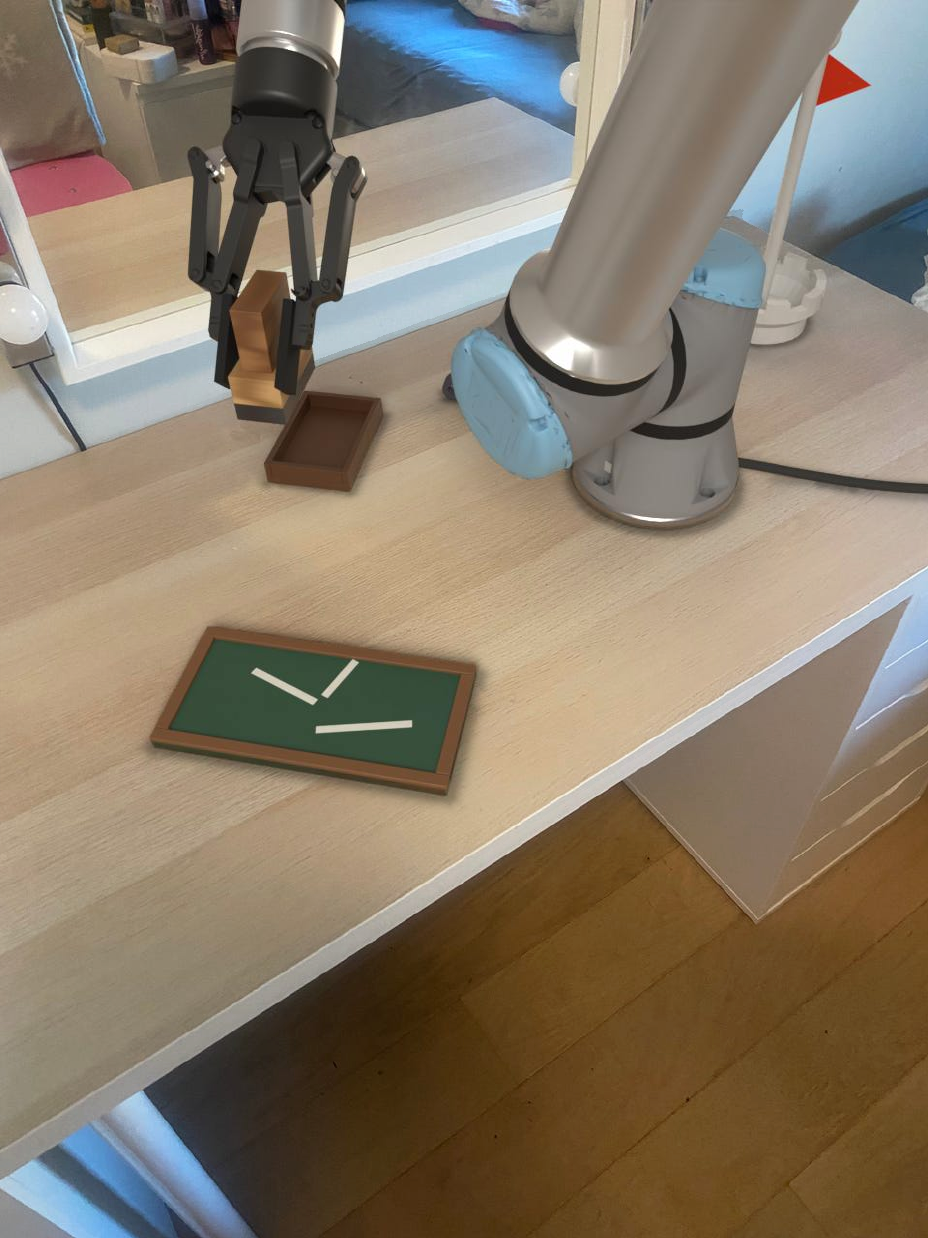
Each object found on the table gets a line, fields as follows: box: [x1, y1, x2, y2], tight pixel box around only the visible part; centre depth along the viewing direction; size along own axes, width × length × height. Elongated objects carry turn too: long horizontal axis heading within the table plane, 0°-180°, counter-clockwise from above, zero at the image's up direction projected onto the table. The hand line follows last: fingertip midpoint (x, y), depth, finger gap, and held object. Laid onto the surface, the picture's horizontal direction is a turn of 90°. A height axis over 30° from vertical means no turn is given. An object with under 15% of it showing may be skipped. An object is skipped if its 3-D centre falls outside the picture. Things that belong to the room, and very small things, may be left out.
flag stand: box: [750, 28, 872, 346], centre depth 92 cm, size 13×13×30 cm
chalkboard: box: [149, 625, 477, 797], centre depth 67 cm, size 22×11×1 cm, turn 79°
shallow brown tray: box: [263, 390, 384, 493], centre depth 88 cm, size 8×12×2 cm
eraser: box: [228, 269, 316, 426], centre depth 69 cm, size 4×8×9 cm, turn 170°
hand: (255, 387), depth 68 cm, fingers closed on eraser, 4 cm apart
